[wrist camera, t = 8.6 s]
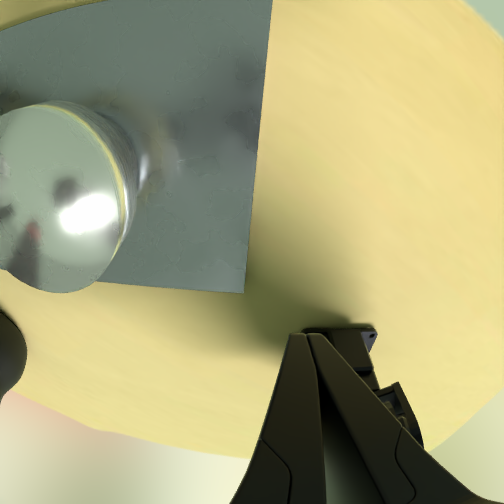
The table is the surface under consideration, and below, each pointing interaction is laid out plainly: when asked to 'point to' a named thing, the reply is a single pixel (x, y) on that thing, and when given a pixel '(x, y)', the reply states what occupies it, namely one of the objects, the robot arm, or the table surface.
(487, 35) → the table surface
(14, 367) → the cola bottle
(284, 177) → the table surface
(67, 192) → the elbow
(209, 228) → the plate
